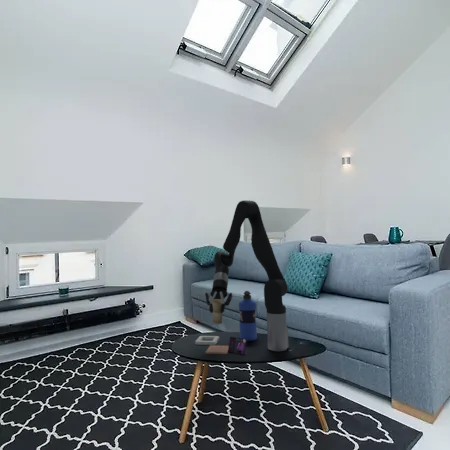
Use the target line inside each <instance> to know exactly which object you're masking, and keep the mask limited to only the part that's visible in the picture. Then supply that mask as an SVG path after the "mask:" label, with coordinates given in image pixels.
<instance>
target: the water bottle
mask: <svg viewBox="0 0 450 450" xmlns="http://www.w3.org/2000/svg"><path fill="white" fill-rule="evenodd" d="M251 294H252V293H251V292H250V291H249V290H245V291H244V292H243V295H242V298H243V299H242V300H241V301H239V302H238V311H239V338H242V339H247V341H246V342H250V341H251V342H253V341H256V340H257V339H258V336H257V335H258V333H257V328H258V327H257V319H256V313H257V311H256V310H257V302H256V301H255V300H252V295H251Z"/></svg>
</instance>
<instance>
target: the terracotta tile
mask: <svg viewBox="0 0 450 450" xmlns="http://www.w3.org/2000/svg"><path fill="white" fill-rule="evenodd" d="M228 348H229V345H217V344H216V345H208V348H207V349H206V350H205V354H207V355H228V353H229V351H228Z"/></svg>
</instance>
